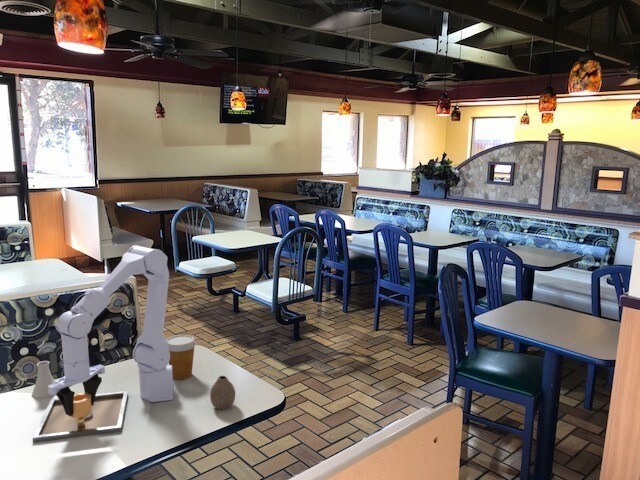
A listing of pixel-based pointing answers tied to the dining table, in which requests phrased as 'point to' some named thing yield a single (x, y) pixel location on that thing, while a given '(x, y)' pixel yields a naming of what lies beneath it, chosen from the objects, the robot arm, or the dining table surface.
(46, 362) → the flask
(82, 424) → the carrier pin
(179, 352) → the disposable coffee cup
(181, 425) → the dining table surface
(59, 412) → the carrier plate
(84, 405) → the gear
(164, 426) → the dining table surface
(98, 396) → the square tray
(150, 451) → the dining table surface
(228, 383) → the vase
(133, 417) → the dining table surface
